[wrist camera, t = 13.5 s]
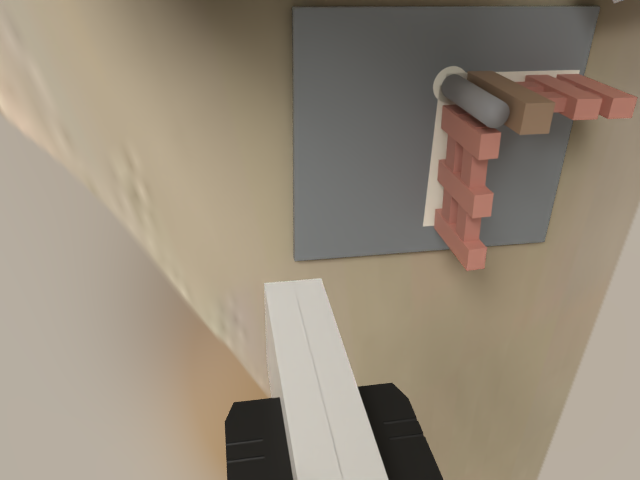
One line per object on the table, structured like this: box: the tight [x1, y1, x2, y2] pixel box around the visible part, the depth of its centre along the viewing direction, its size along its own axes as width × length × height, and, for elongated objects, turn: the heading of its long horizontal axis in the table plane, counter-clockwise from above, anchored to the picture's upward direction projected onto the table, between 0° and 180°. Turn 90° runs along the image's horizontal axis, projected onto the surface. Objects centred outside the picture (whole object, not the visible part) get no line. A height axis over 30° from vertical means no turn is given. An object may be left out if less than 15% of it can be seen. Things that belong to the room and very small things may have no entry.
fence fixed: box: [467, 71, 638, 135], centre depth 40 cm, size 9×2×9 cm, turn 89°
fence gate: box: [434, 74, 510, 271], centre depth 42 cm, size 13×2×7 cm, turn 2°
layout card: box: [292, 6, 600, 261], centre depth 45 cm, size 20×23×1 cm
